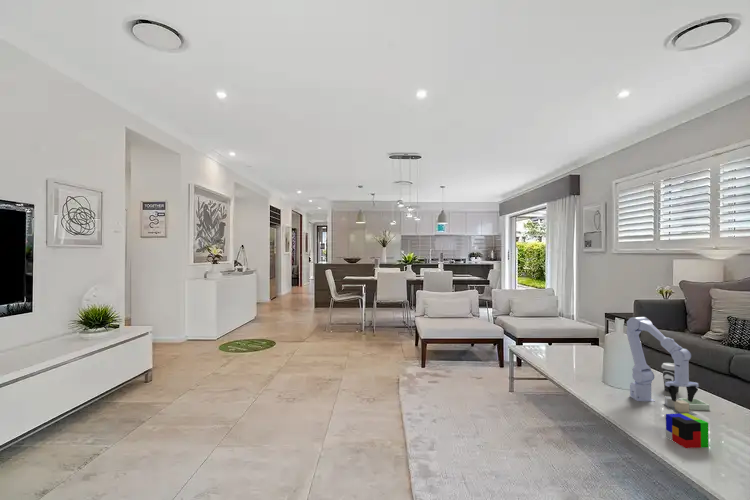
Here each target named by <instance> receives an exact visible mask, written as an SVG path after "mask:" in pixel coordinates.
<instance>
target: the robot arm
mask: <svg viewBox="0 0 750 500" xmlns="http://www.w3.org/2000/svg"><path fill="white" fill-rule="evenodd" d="M626 326H627V327H626V331H625V332H626V336H627V340H628V344H629V347H630V351H631V356H632V360H633V363H634V366H633V367H632V368H631V369H632V379H633V381H634V382H631V383H630V384H629V397H630V398H632V399H633V400H635V401H637V402H656V400H655V399H653V398H652V383H653V381H654V380H655V374H654V371H652V369H651V366H650V365H648V364H647V361H646V358H645V357H646V356H645V353H644V350H643V346H642V343H641V338H640V334H641V332H642V331H644V332H647V333H649V334H650V335H652V337H654V338H655V339H657V340H658V341H659V342H660V346H661V347H662V348H663V349H665V350H666V351H667V352H668V353H669V354H670V355H671V359H672V360H673V364H674V369H675V381H670V382H665V386H666V387H667V389H668V390H669V395H670V397H671V398H672V401H674V402H676V399H677V394H678V392H677V389H676V388H675V386H679V388H680V387H681V388H682V387H683V388H684V387H685V388H686V392H687V398H688V401H690V402H692V401H693V399H694V397H695V395H696V393H697V392H698V389H699V382H696V381H695V382H694V381H690V379H689V378H690V374H689V373H690V370H689V369H690V368H689V364H690V363H689V362H690V360H691V358H692V353H691V352H690V351H689V350H688V349H687V348H683V347H682V346H681V345H679V344H678V343H677V342H676V341H675V339H674V338H671V337H667V336H665V335H664V334H663V333H662V332H661V331H660V330H659V329H658V328H657V327H656V326H655V325H653V322H652V321H651V320H650V319H649V318H647V317H646V316H637V317H629V318H628V320H627V321H626Z"/></svg>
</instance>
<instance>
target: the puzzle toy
mask: <svg viewBox="0 0 750 500" xmlns="http://www.w3.org/2000/svg"><path fill="white" fill-rule="evenodd" d="M666 437H667V439H668V438H669V439H668V440H670V439H671V440H670V441H672V440H673V441H674V443H675V442H676V444H677V445H678V446H681V447H683V448H685V449H697V448H698V449H700V448H709V422H708V421H705V420H703V419H701V418H699V417H696V415H690V414H688V413H683V414H678V413H666V414H665V438H666ZM673 441H672V442H673Z"/></svg>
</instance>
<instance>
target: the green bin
mask: <svg viewBox="0 0 750 500" xmlns="http://www.w3.org/2000/svg"><path fill="white" fill-rule="evenodd" d="M677 400H683V401H685V402H687V403H689V411H693V410H696V411H697V410H698V411H710V404H709V403H706V402H705V401H703V400H701V399H699V398H693V401H692V402H690V401H688V397H687V398H685V397H678V398H677Z"/></svg>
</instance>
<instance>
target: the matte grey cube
mask: <svg viewBox="0 0 750 500" xmlns="http://www.w3.org/2000/svg"><path fill="white" fill-rule="evenodd" d="M676 400H678V398H676ZM664 404H665V405H666V406H667V407H666V406H665V407H666V408H668V407H675V402H674V401H672V398H671V396H668V395H667V396H666V395H664Z"/></svg>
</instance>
